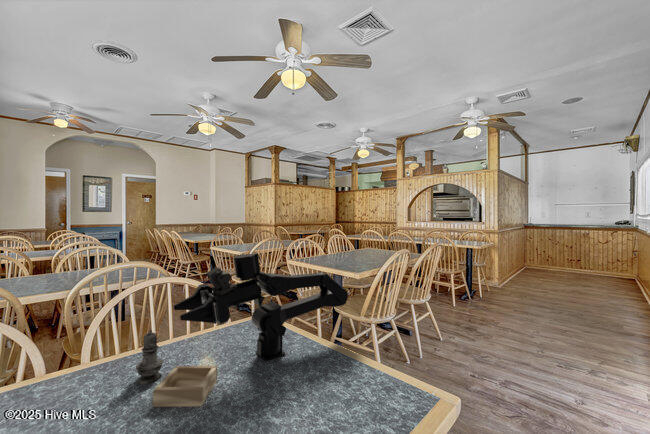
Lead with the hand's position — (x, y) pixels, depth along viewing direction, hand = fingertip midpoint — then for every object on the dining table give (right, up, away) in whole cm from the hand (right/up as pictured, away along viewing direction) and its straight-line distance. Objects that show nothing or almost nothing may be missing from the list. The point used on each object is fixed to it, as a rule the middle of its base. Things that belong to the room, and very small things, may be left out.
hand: (176, 312), depth 71 cm
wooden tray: (+5, -16, -5) cm, 18 cm away
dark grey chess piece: (-7, -17, +1) cm, 18 cm away
